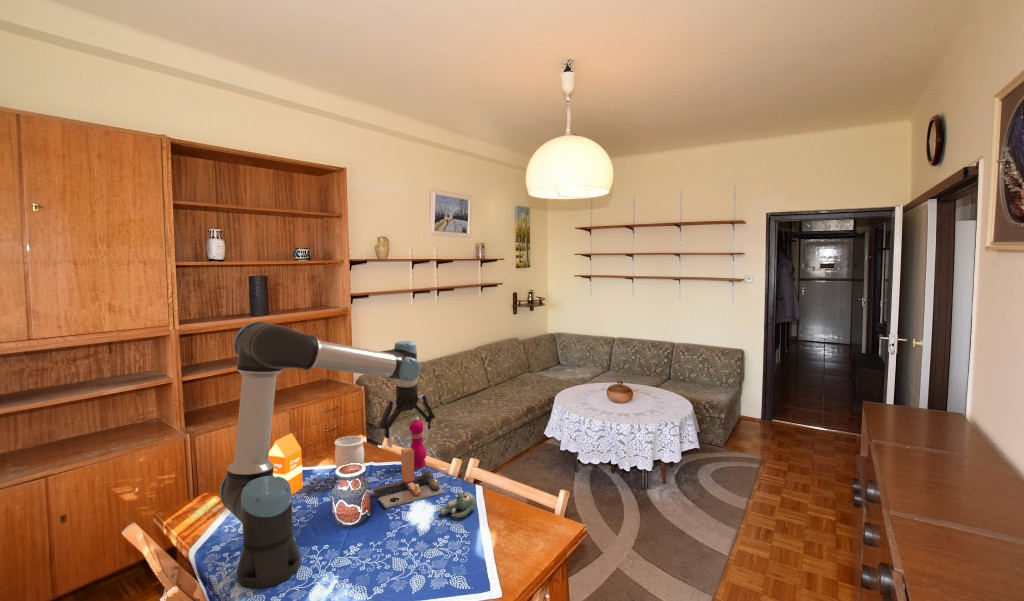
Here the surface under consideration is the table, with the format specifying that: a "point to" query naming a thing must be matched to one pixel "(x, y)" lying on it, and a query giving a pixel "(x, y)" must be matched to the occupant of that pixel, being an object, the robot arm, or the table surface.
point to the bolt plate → (409, 496)
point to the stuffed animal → (460, 505)
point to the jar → (349, 450)
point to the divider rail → (402, 485)
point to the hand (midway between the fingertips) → (408, 442)
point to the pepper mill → (418, 443)
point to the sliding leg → (409, 469)
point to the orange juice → (287, 461)
